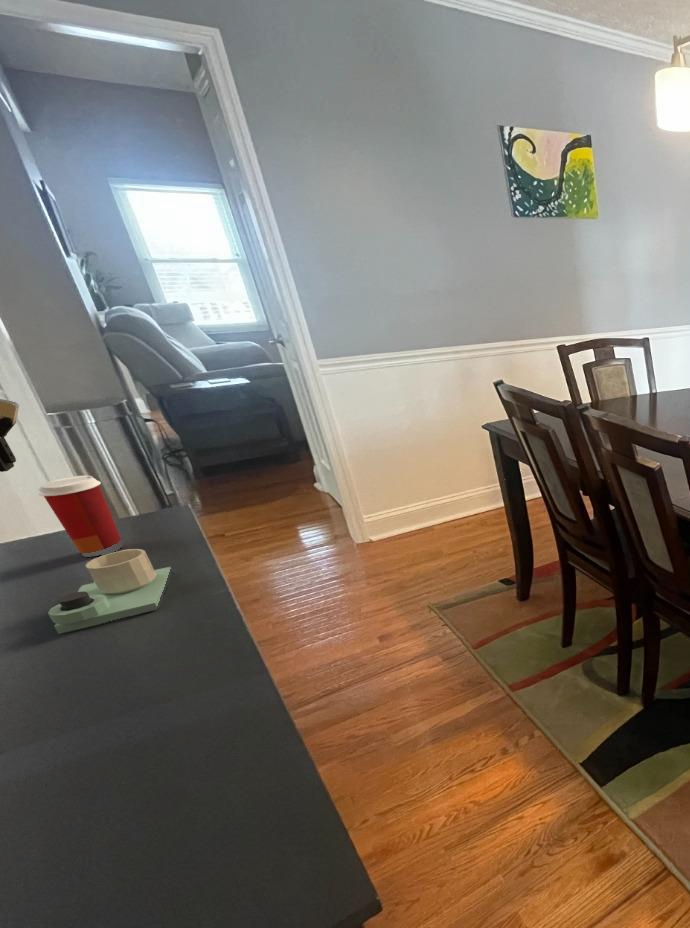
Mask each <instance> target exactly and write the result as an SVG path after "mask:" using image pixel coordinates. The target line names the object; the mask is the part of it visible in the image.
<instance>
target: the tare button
mask: <svg viewBox="0 0 690 928" xmlns="http://www.w3.org/2000/svg"><path fill="white" fill-rule="evenodd" d="M58 603H59V604H60V605H61V606H62V608H63V610H64V611H70V610H74V609H79V608H81V607H84V606H87V605H89V604H91V603H92V600H91V598H90V597H89V595H88V593H87V592H78V591H77V592H72V593H69V594H65V595H64V596H61V597H60V598H59V599H58Z"/></svg>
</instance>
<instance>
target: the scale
mask: <svg viewBox="0 0 690 928" xmlns="http://www.w3.org/2000/svg"><path fill="white" fill-rule="evenodd" d="M170 569H172V567H171V566H167V567H163V568H157V569H154V571H155V573H156V577H155V579H153V580H152V582H151V583H149V584H148V585H146V586H144V587H142V588H139V589H136V590H133V591H130V592H125V593H120V594H108V593H101V592H100V591H98V589H97V587H96V585H95V583H94V582H91V583H86V584H82V585H81V586H80V587H79V588H78V590H77V592H87V593H88V595H89V597H90V598H91V600H92V603H91V604H89V605H87V606H84V607H81V608H79V609H74V610H70V611H64V610H63V608H62V606H61V605H60V603H59V604H57V605H55V606H52V607H50V609H49V611H48V612H47V615H48V616H49V618H50V620H51V621H52V623H55V624H54V626H53V628H54V629H55V631H56V633H57V634H58V635H60V634H65V633H69V632H73V631H78V630H81V629H85V628H90V627H94V626H97V625H98V626H99V625H102V623H103V624H106V622H107V623H109V622H108V621H111V622H113V621H112V620H115V619H118V618H121V617H124V616H126V615H130V614H133V613H136V612H140V611H145V610H149V609H153V608H156V607H157V606H158V603H159V601H160V597H161V595H162V592H163V590H164V587H165V584H166V581H167V578H168V575H169V572H170ZM115 621H116V620H115Z"/></svg>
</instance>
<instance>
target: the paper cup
mask: <svg viewBox="0 0 690 928" xmlns="http://www.w3.org/2000/svg"><path fill="white" fill-rule="evenodd" d="M101 483H102V482H101V481H100V480H97V478H94V477H93V476H92V475H75V476H69V477H63V478H58V479H54V480H51V481H47V482H45V483H42V484H41V485H40V488H39V489H38V491H40V492H39V493H38V496H39V497H44V499H45V501H46V502H47V504H48V505H49V507H50V509H51V510H52V511H53V513H54V515H55V516H56V518H57V519H58V521H59V523H60V524H61V526H62V527H63V528H64V531H65V532H66V533H67V535H68V536H69V538H70V539H71V541H72V543H73V545H74V546H75V547H76V549H77V550H78V551H79V553H80V552H81V553H91V552H96V551H99V550H103V549H106V548H108V547H111V546H112V545H114V544H117V543H118V542H119V541H120V540H122V538H121V535H120V533H119V531H118V527H117V525H116V523H115V520H114V518H113V516H112V513H111V511H110V508H109V504H108V503H107V501H106V498H105V496H104V493H103V491H102V488H101V486H100V485H101ZM81 553H80V554H81Z"/></svg>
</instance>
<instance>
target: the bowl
mask: <svg viewBox="0 0 690 928" xmlns="http://www.w3.org/2000/svg"><path fill="white" fill-rule="evenodd" d="M84 566H85V569H86V571H87V572H88V574H89V576H90V578H91V579H92V583H95V585H96V587H97V589H98V591H100V592H101V593H108V594H120V593H125V592H130V591H133V590H136V589H139V588H142V587H144V586H146V585H148V584H149V583H151V582H152V580H153V579H155V577H156V573H155V571H154V570H155V569H154V567H153V564H152V562H151V560H150V558H149V557H148V554H147V552H146V550H144V549H142V548H130V549H121V550H119V551H116V552H113V553H109V554H106V555H103V556H99V557H94V558H93V559H92V560H90V561H88V562H87V563H86V564H85V565H84Z"/></svg>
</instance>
